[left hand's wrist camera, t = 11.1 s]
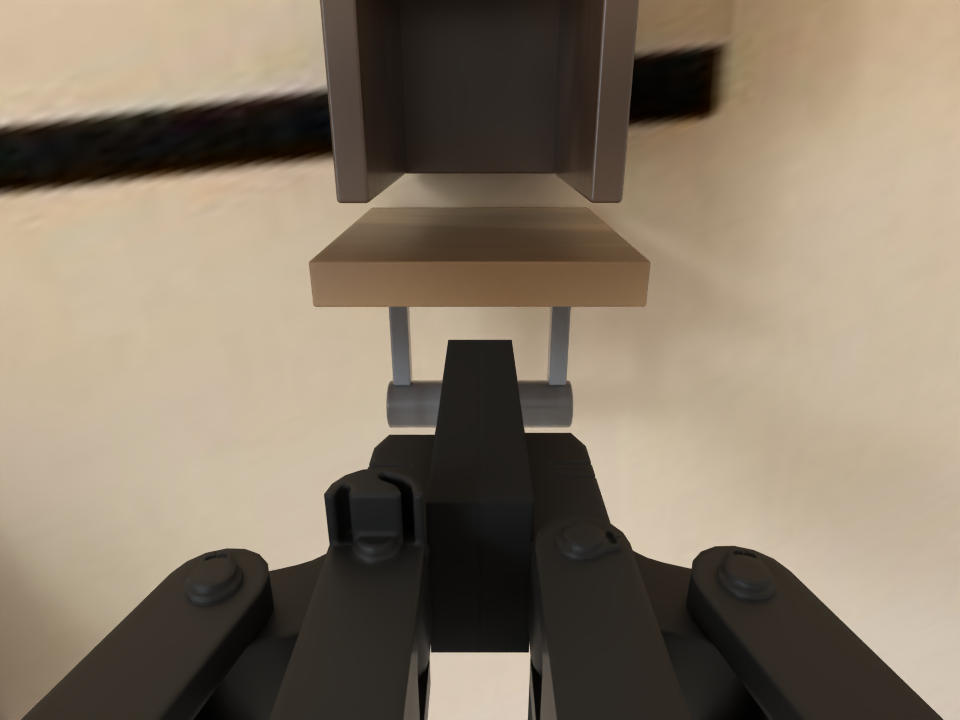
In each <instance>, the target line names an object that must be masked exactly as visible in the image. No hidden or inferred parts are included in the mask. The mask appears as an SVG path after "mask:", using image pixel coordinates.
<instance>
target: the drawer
mask: <svg viewBox="0 0 960 720" xmlns="http://www.w3.org/2000/svg"><path fill="white" fill-rule="evenodd" d="M638 4H639V0H320V7H321V18H322V30H323V42H324V53H325V65H326V77H327V89H328V100H329V112H330V124H331V135H332V147H333V159H334V171H335V182H336V194H337V201H338V202H339V203H368V202H369V201H371V200H372V199H373V198H374V197H376V196H377V195H378V194H380V193H381V192H382V191H383V190H385V189H386V188H387V187H389V186H390V185H391V184H392V183H394V182H395V181H396V180H398V179H399V178H400V177H401V176H403V175H404V174H405V173H554V174H556V175H557V176H558V177H560V178H561V179H562V180H563V181H565V182H566V183H567V184H569V185H570V186H571V187H572V188H574V189H575V190H576V191H578V192H579V193H580V194H581V195H583V196H584V197H585V198H587V199H588V200H589V201H590V202H593V203H619V202H621V200H622V195H623V183H624V171H625V159H626V147H627V135H628V124H629V112H630V100H631V88H632V76H633V64H634V52H635V40H636V28H637V16H638ZM309 268H310V277H311V287H312V296H313V305H314V306H315V307H389V318H390V335H391V352H392V369H393V381H390V382H389V385H388V390H387V420H388V424H389V427H391V428H436V424H437V417H438V410H439V403H440V396H441V389H442V382H443V381H412V361H411V339H410V317H409V307H550V329H549V351H548V374H547V379H548V380H538V381H517V382H518V389H519V396H520V403H521V410H522V417H523V424H524V427H570V426H571V423H572V417H573V393H572V386H571V383H570V381H568V380H566V379H567V362H568V344H569V326H570V309H571V307H644V306H645V305H646V299H647V290H648V280H649V271H650V261H649V260H648V259H646V258H645V257H644V256H643V255H642V254H641V253H639V252H638V251H637V250H636V249H635V248H634V247H632V246H631V245H630V244H629V243H628V242H627V241H625V240H624V239H623V238H622V237H621V236H620V235H618V234H617V233H616V232H615V231H614V230H613V229H611V228H610V227H609V226H608V225H607V224H606V223H604V222H603V221H602V220H601V219H600V218H599V217H598V216H596V215H595V214H594V213H593V212H592V211H591V210H589V209H588V208H371V209H370V210H369V211H368V212H367V213H366V214H364V215H363V216H362V217H361V218H360V219H359V220H357V221H356V222H355V223H354V224H353V225H352V226H350V227H349V228H348V229H347V230H346V231H345V232H343V233H342V234H341V235H340V236H339V237H338V238H336V239H335V240H334V241H333V242H332V243H331V244H329V245H328V246H327V247H326V248H325V249H324V250H322V251H321V252H320V253H319V254H318V255H317V256H315V257H314V258H313V259H312V260H311V261H310V262H309Z"/></svg>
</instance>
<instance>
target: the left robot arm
mask: <svg viewBox="0 0 960 720" xmlns="http://www.w3.org/2000/svg"><path fill="white" fill-rule="evenodd" d="M324 497H325V506H326V515H327V524H328V533H329V542H330V545H329V548H328V551H327V554H325V555H323V556H321V557H319V558H317V559H314V560H312V561H309V562H306V563H302V564H299V565H295V566H291V567H286V568H282V569H278V570H273V571H269V569H268V564H267V562H266V561H265V560H264V559H263V558H262V557H261V556H260V554H257V553H254V552H252V551H249V550H246V549H222V550H217V551H213V552H208V553H205V554H203V555H200V556H198V557H196V558H194V559H191V560H189V561H187V562H186V563H184V564H183V565H182V566H180V567H179V568H177V569H176V570H175V571H173V572H172V573H171V574H170V575H169V576H168V577H167V578H166V579H165V580H164V581H163V582H162V583H161V584H160V585H158V586H157V587H156V588H155V589H154V590H153V591H152V592H151V593H150V594H149V595H148V596H147V597H146V598H145V599H144V600H143V601H142V602H141V603H140V604H139V605H138V606H137V607H136V608H135V609H134V610H133V611H132V612H131V613H130V614H129V615H128V616H127V617H126V618H125V619H124V620H123V621H122V622H121V623H120V624H119V625H118V626H116V627H115V628H114V629H113V630H112V631H111V632H110V633H109V634H108V635H107V636H106V637H105V638H104V639H103V640H102V641H101V642H100V643H99V644H98V645H97V646H96V647H95V648H94V649H93V650H92V651H91V652H90V653H89V654H88V655H87V656H86V657H85V658H84V659H83V660H82V661H81V662H80V663H79V664H78V665H77V666H76V667H74V668H73V669H72V670H71V671H70V672H69V673H68V674H67V675H66V676H65V677H64V678H63V679H62V680H61V681H60V682H59V683H58V684H57V685H56V686H55V687H54V688H53V689H52V690H51V691H50V692H49V693H48V694H47V695H46V696H45V697H44V698H43V699H42V700H41V701H40V702H39V703H38V704H37V705H36V706H35V707H34V708H33V709H31V710H30V711H29V712H28V713H27V714H26V715H25V716H24V717H23V718H22V719H21V720H427V719H428V707H429V695H430V660H429V657H430V646H431V652H529V643H530V654H531V660H530V684H529V708H528V720H943V719H942V718H941V717H940V716H939V715H938V714H937V713H936V712H935V711H934V710H933V709H932V708H931V707H930V706H929V705H928V704H927V703H926V702H925V701H924V700H923V699H922V698H921V697H920V696H919V695H917V694H916V693H915V692H914V691H913V690H912V689H911V688H910V687H909V686H908V685H907V684H906V683H905V682H904V681H903V680H902V679H901V678H900V677H899V676H898V675H897V674H896V673H895V672H894V671H893V670H892V669H891V668H890V667H889V666H888V665H887V664H885V663H884V662H883V661H882V660H881V659H880V658H879V657H878V656H877V655H876V654H875V653H874V652H873V651H872V650H871V649H870V648H869V647H868V646H867V645H866V644H865V643H864V642H863V641H862V640H861V639H860V638H859V637H858V636H857V635H856V634H855V633H854V632H852V631H851V630H850V629H849V628H848V627H847V626H846V625H845V624H844V623H843V622H842V621H841V620H840V619H839V618H838V617H837V616H836V615H835V614H834V613H833V612H832V611H831V610H830V609H829V608H828V607H827V606H826V605H825V604H824V603H823V602H822V601H821V600H819V599H818V598H817V597H816V596H815V595H814V594H813V593H812V592H811V591H810V590H809V589H808V588H807V587H806V586H805V585H804V584H803V583H802V582H801V581H800V580H799V579H798V578H797V577H796V576H795V575H794V574H793V573H792V572H791V571H789V570H788V569H787V568H785V567H784V566H783V565H781V564H780V563H779V562H777V561H776V560H775V559H773V558H771V557H768V556H766V555H764V554H762V553H759V552H757V551H755V550H751V549H746V548H741V547H736V546H715V547H713V548H710V549H707V550H704V551H702V552H700V553H699V555H698V556H697V557H696V558H695V559H694V560H693V563H692V569H689V568H685V567H680V566H676V565H671V564H667V563H663V562H659V561H656V560H653V559H649V558H647V557H645V556H643V555H640V554H638V553H636V552H634V551H633V550H632V547H631V545H630V543H629V541H628V540H627V538H626V537H625V535H624V534H623V532H621V531H620V530H619V529H617V528H616V527H614V526H613V525H612V524H610V520H609V517H608V514H607V511H606V508H605V505H604V502H603V499H602V495H601V492H600V489H599V486H598V483H597V480H596V478H595V474H594V471H593V467H592V465H591V461H590V458H589V455H588V452H587V449H586V446H585V445H584V444H583V443H581V442H580V441H579V440H578V439H577V438H576V437H575V436H574V435H572V434H571V433H525V431H524V424H523V417H522V410H521V403H520V396H519V389H518V382H517V375H516V368H515V360H514V353H513V346H512V340H448V346H447V353H446V360H445V368H444V375H443V382H442V389H441V396H440V403H439V410H438V417H437V424H436V431H435V435H389V436H388V437H386V438H385V439H384V440H383V441H382V442H381V443H380V444H379V445H378V446H376V447H375V448H374V451H373V454H372V457H371V461H370V464H369V467H368V469H365V470H360V471H357V472H354V473H351V474H348V475H345V476H344V477H342V478H340V479H339V480H337V481H336V482H334V483H333V484H332V485H331V486H330V487H329V489H328V490H327V491H326V493H325V494H324Z"/></svg>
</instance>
